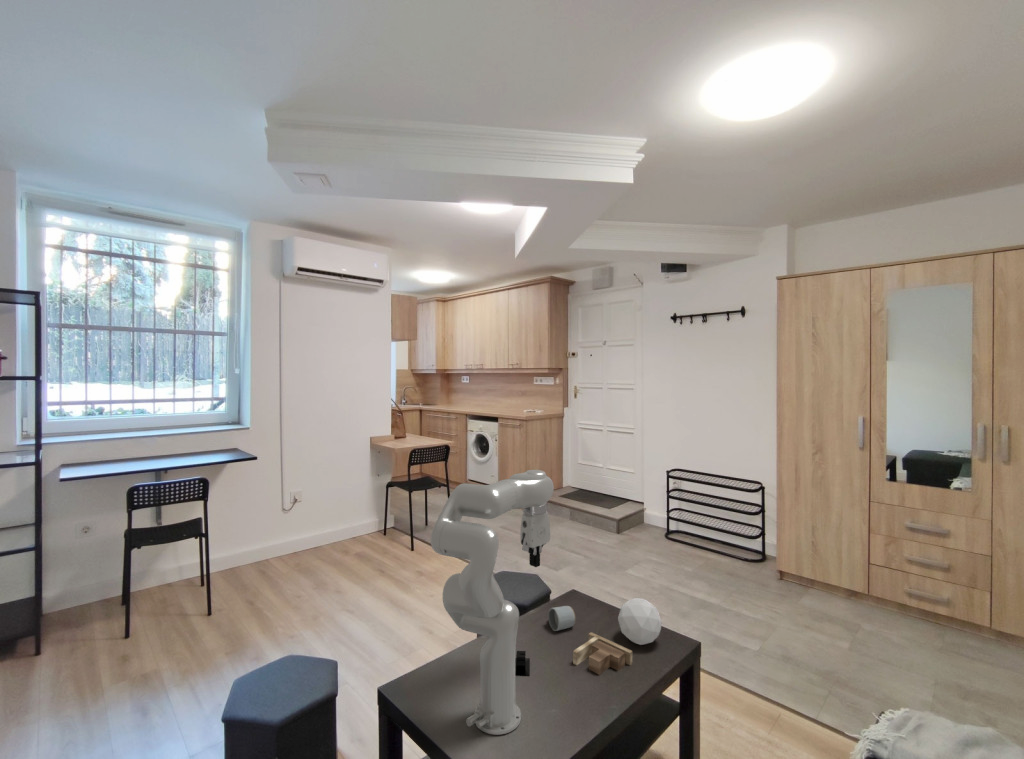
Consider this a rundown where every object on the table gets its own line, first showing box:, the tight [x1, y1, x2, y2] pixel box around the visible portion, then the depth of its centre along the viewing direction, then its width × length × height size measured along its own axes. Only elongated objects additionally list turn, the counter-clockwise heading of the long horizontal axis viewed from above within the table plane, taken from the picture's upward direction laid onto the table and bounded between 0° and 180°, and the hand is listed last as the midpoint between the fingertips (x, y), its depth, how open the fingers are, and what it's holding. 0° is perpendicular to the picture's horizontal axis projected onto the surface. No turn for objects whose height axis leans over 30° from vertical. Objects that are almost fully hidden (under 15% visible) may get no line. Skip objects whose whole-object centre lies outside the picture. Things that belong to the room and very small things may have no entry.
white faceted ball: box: [617, 597, 663, 646], centre depth 164 cm, size 14×15×15 cm
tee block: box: [588, 641, 626, 676], centre depth 150 cm, size 10×10×4 cm
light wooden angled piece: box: [572, 631, 633, 666], centre depth 152 cm, size 14×16×4 cm
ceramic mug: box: [547, 605, 577, 632], centre depth 174 cm, size 11×8×8 cm
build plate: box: [515, 650, 531, 677], centre depth 149 cm, size 12×7×5 cm, turn 177°
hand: (534, 565), depth 152 cm, fingers closed
